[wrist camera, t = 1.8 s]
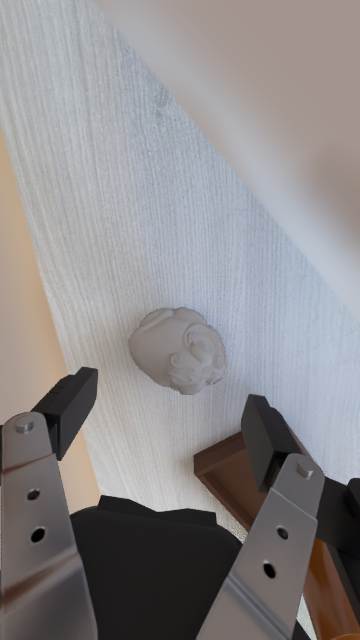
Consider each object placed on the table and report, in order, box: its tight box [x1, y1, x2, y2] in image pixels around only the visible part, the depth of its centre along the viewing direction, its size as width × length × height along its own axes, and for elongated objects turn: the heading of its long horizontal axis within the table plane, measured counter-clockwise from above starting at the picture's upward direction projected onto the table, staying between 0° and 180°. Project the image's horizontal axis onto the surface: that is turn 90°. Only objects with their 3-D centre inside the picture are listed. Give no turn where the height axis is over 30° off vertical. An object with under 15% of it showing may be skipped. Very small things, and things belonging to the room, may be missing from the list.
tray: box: [194, 421, 314, 533], centre depth 27 cm, size 27×10×2 cm, turn 36°
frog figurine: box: [128, 307, 228, 395], centre depth 18 cm, size 6×7×7 cm
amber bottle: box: [302, 538, 360, 640], centre depth 22 cm, size 5×5×12 cm
